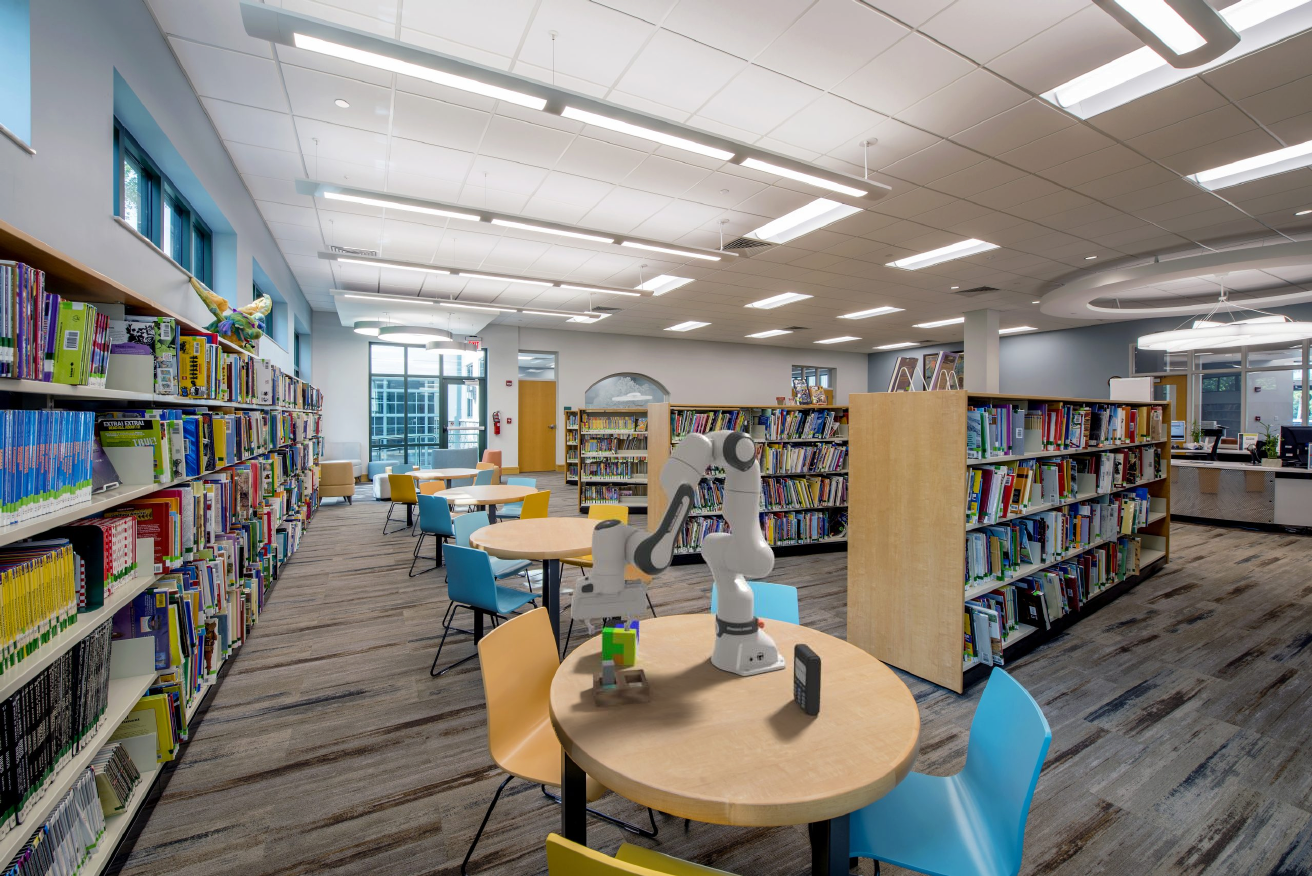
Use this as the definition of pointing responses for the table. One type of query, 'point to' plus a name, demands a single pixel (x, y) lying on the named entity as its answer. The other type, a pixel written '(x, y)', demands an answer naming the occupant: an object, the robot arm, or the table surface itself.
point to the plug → (608, 672)
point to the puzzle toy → (620, 642)
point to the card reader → (807, 679)
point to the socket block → (621, 688)
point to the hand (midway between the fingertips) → (609, 632)
